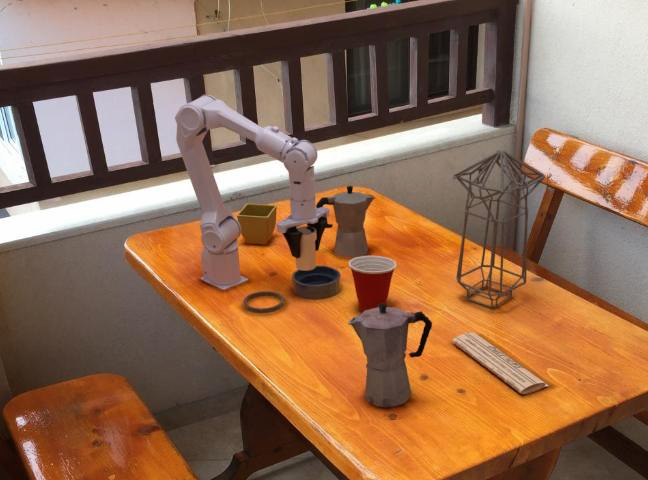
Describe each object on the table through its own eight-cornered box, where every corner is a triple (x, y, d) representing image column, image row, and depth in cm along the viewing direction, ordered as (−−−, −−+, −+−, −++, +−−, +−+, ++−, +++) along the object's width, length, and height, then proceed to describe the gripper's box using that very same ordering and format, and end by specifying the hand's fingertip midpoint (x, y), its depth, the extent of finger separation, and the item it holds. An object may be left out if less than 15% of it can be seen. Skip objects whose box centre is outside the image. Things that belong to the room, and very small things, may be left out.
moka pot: (348, 385, 171) (346, 294, 160) (425, 380, 172) (427, 289, 161) (352, 411, 163) (350, 317, 152) (433, 406, 164) (436, 313, 153)
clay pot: (289, 266, 203) (287, 230, 198) (306, 259, 206) (305, 224, 202) (305, 273, 200) (303, 237, 195) (322, 266, 203) (321, 230, 198)
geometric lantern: (483, 278, 212) (493, 136, 193) (537, 298, 202) (552, 150, 184) (442, 299, 203) (448, 152, 184) (495, 320, 193) (508, 167, 175)
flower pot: (270, 248, 230) (268, 216, 225) (239, 246, 232) (236, 214, 227) (279, 236, 237) (277, 205, 233) (248, 234, 239) (246, 203, 234)
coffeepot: (371, 242, 232) (370, 178, 223) (379, 256, 224) (379, 189, 215) (315, 248, 230) (312, 183, 220) (321, 262, 222) (319, 195, 212)
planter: (282, 290, 208) (281, 275, 206) (318, 276, 215) (317, 261, 213) (315, 305, 201) (314, 290, 199) (350, 290, 208) (350, 274, 206)
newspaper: (452, 344, 184) (452, 337, 183) (479, 336, 187) (479, 329, 186) (520, 396, 167) (521, 388, 166) (549, 386, 169) (550, 378, 168)
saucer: (235, 306, 202) (235, 300, 201) (266, 293, 207) (266, 287, 206) (261, 318, 196) (260, 313, 195) (292, 305, 201) (292, 299, 201)
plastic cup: (403, 304, 201) (404, 256, 195) (385, 324, 193) (385, 275, 186) (361, 296, 205) (360, 249, 198) (341, 315, 197) (340, 267, 190)
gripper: (290, 210, 187) (293, 267, 195) (338, 193, 196) (339, 248, 203) (269, 202, 192) (273, 258, 199) (317, 186, 200) (319, 240, 207)
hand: (305, 253), depth 201 cm, fingers closed on clay pot, 5 cm apart
